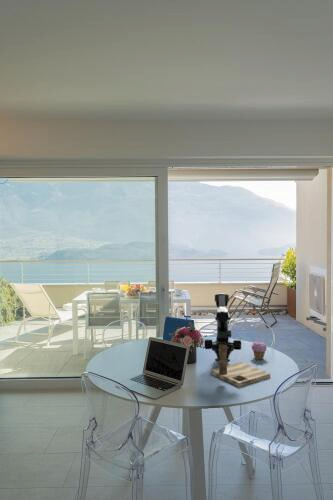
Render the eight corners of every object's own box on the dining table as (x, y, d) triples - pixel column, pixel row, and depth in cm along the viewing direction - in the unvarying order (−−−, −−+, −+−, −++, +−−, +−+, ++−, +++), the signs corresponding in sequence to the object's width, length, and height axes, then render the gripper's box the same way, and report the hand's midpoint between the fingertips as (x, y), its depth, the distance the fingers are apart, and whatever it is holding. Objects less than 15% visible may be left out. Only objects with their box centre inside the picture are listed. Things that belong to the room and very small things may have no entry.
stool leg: (217, 373, 206) (217, 344, 205) (222, 371, 209) (222, 342, 207) (223, 375, 203) (223, 346, 202) (228, 373, 205) (228, 344, 204)
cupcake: (249, 356, 246) (249, 339, 246) (263, 355, 247) (263, 339, 246) (254, 361, 237) (254, 344, 237) (268, 360, 238) (268, 343, 237)
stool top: (210, 373, 219) (210, 370, 219) (241, 365, 231) (240, 361, 231) (239, 387, 200) (239, 383, 200) (270, 377, 212) (270, 373, 212)
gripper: (204, 324, 209) (203, 352, 199) (241, 324, 207) (242, 352, 197) (205, 334, 217) (204, 362, 207) (240, 335, 215) (241, 363, 205)
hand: (222, 359), depth 204 cm, fingers closed on stool leg, 4 cm apart
